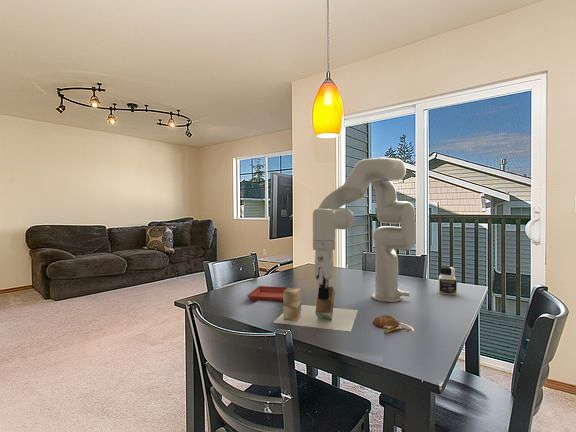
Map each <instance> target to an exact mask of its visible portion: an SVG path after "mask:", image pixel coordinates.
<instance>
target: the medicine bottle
mask: <svg viewBox="0 0 576 432" xmlns="http://www.w3.org/2000/svg"><path fill="white" fill-rule="evenodd" d="M455 271H456V269H455V268H454V267H453V266H445V265H444V266H442V267H440V274H439V275H438V294H442V295H451V296H452V295H453V296H454V295H455V296H456V295H457V287H458V286H457V284H458V283H457V281H458V280H457V278H456V272H455Z"/></svg>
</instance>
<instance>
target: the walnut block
mask: <svg viewBox="0 0 576 432" xmlns="http://www.w3.org/2000/svg"><path fill="white" fill-rule="evenodd" d="M328 287H329V298H328V300H324V299H319V290H318V292H317V298H316V299H317V300H316V305H315V306H316V311H315V314H316V316H317V318H318V319H328V320H332V315H333V308H334V306H335V305H334V304H335V295H336V292H335V289H334V286H328Z"/></svg>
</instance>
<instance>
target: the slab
mask: <svg viewBox="0 0 576 432" xmlns="http://www.w3.org/2000/svg"><path fill="white" fill-rule="evenodd" d="M315 311H316V305H306V304H301V318H300V319H299V320H298V321H289V320H283V312H282V313H281V314H280V315H279V316H278V317H277V318H276V319H275V320H274V321H273V322H272V324H274V323H275V324H282V325H290V326H299V327H309V328H315V329H324V330H325V329H326V330H334V331H342V332H343V331H345V332H352V329H353V326H354V323H355V320H356V317H357V315H358V311H359V310H358V309H349V308H341V307H340V308H339V307H333V315H332V320H328V319H318V318H317V316H316V314H315Z"/></svg>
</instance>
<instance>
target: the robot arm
mask: <svg viewBox="0 0 576 432" xmlns="http://www.w3.org/2000/svg"><path fill="white" fill-rule="evenodd" d="M406 172H407V167H406V163H404V161H403V160H402V159H400V158H391V157H375V158H366V159H361V160H359V161H358V162H357V163H356V164H355V166H354V167H353V168H352V169H351V171H350V174H349V175H348V177H347V179H346V180H345V182H344V183H343V185H340V186H339V187H338V188H335V190H333V191H332V192H330V193H329V194H328V195H326V196H325V198H323V200H322V202H321V203H320V204H319V206H318V208H316V209H314V210H313V211H312V250H313V251H315V253H314V254H315V255H314V278H315V280H318V291H319V299H324V300H328V298H329V287H330V283H329V281H330V280H331V279H333V277H334V274H335V270H334V269H335V267H334V251H335V250H336V230H347V229H350V228H351V227H352V226H353V225H354V223H355V214H354V213H353V211H352V210H351V209H349V208H346V207H343V206H345V205H348V204H352V203H354V202H356V201H359V200H360V199H362V198H363V197H364V195H365V194H366V192H367V191H368V188H369V186H370V185H372V186H373V188H374V191H375V207H376V209H375V211H376V219H377V221H379V223H383V224H395V225H396V224H398V225H400V226H389V225H385V226H384V225H383V226H378V227H376V229H375V230H374V231H373V235H372V237H373V243H374V250H375V283H374V288H375V291H374V292H373V293H372V294H371V299H373V300H375V301H378V302H383V303H384V302H385V303H398V302H400V301H402V300H403V299H402V297H410V291H406V290H400V287H399V258H398V254H397V253H396V251H395V250H405V251H410V250H412V249H413V248H414V247H415V245H416V239H417V237H416V235H417V234H416V233H417V232H416V229H417V227H416V226H417V225H416V209H415V207H414V205H413V204H412V202H410V201H407V200H398V198H397V189H396V187H395V185H394V183H393V182H394V181H395V182H396V181H401V180H402V179H404V177H405V176H406ZM392 181H393V182H392Z"/></svg>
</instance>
